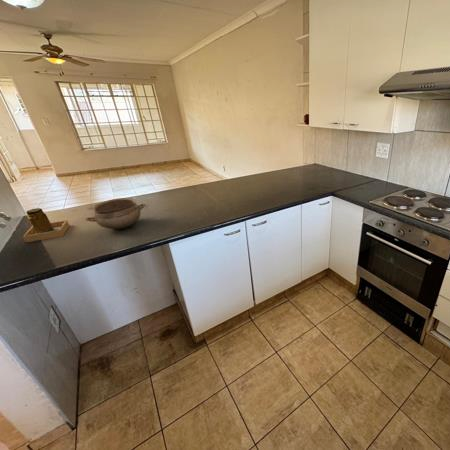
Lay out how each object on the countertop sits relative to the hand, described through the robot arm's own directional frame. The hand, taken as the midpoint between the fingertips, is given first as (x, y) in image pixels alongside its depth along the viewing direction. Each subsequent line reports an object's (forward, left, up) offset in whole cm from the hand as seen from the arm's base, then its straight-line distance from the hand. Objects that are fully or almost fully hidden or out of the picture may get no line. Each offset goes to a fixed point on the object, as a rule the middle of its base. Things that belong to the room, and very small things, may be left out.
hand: (8, 222), depth 109 cm
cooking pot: (+41, -7, -9) cm, 43 cm away
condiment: (+10, +2, -9) cm, 13 cm away
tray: (+10, +2, -9) cm, 14 cm away
